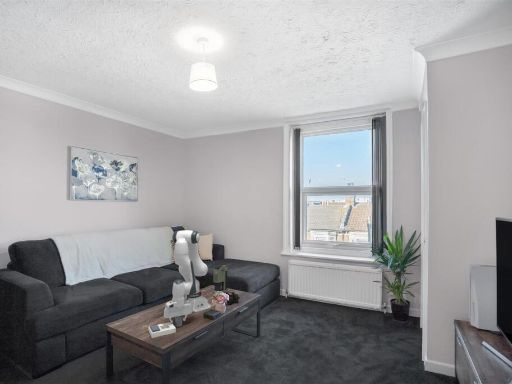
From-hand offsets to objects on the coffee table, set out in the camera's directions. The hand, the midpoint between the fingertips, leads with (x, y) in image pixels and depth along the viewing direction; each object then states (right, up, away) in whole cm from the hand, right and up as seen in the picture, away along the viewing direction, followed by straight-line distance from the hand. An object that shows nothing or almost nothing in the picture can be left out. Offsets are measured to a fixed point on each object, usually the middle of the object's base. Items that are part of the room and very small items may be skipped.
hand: (177, 321), depth 214 cm
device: (+23, -5, +69) cm, 73 cm away
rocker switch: (0, -3, 0) cm, 3 cm away
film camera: (+34, -5, +48) cm, 59 cm away
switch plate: (-9, -3, -10) cm, 13 cm away
